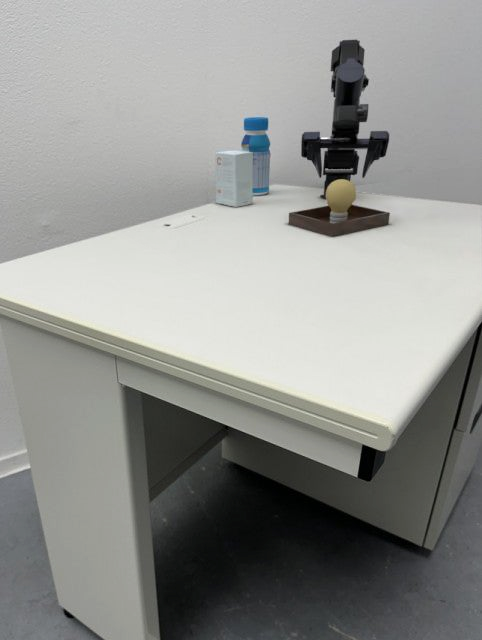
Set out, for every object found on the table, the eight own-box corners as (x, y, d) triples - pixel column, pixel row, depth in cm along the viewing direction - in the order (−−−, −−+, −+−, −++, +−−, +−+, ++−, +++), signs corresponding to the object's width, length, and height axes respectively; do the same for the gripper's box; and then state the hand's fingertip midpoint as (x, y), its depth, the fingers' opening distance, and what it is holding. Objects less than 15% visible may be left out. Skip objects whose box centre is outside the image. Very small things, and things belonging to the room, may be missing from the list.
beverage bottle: (261, 197, 154) (262, 119, 144) (235, 194, 158) (235, 118, 149) (274, 191, 160) (276, 116, 151) (249, 189, 164) (249, 116, 155)
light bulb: (317, 227, 121) (321, 180, 117) (332, 221, 126) (336, 176, 121) (343, 231, 118) (347, 183, 113) (357, 225, 122) (362, 178, 117)
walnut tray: (342, 213, 133) (343, 202, 132) (388, 224, 123) (390, 212, 121) (288, 224, 126) (288, 212, 124) (332, 236, 115) (333, 224, 114)
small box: (252, 203, 146) (253, 151, 140) (235, 207, 143) (235, 154, 137) (232, 199, 152) (232, 149, 146) (215, 203, 148) (214, 152, 142)
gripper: (304, 91, 118) (298, 152, 114) (394, 88, 114) (392, 151, 110) (303, 128, 129) (298, 185, 124) (386, 126, 125) (383, 185, 121)
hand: (341, 176), depth 120 cm, fingers open, 9 cm apart
